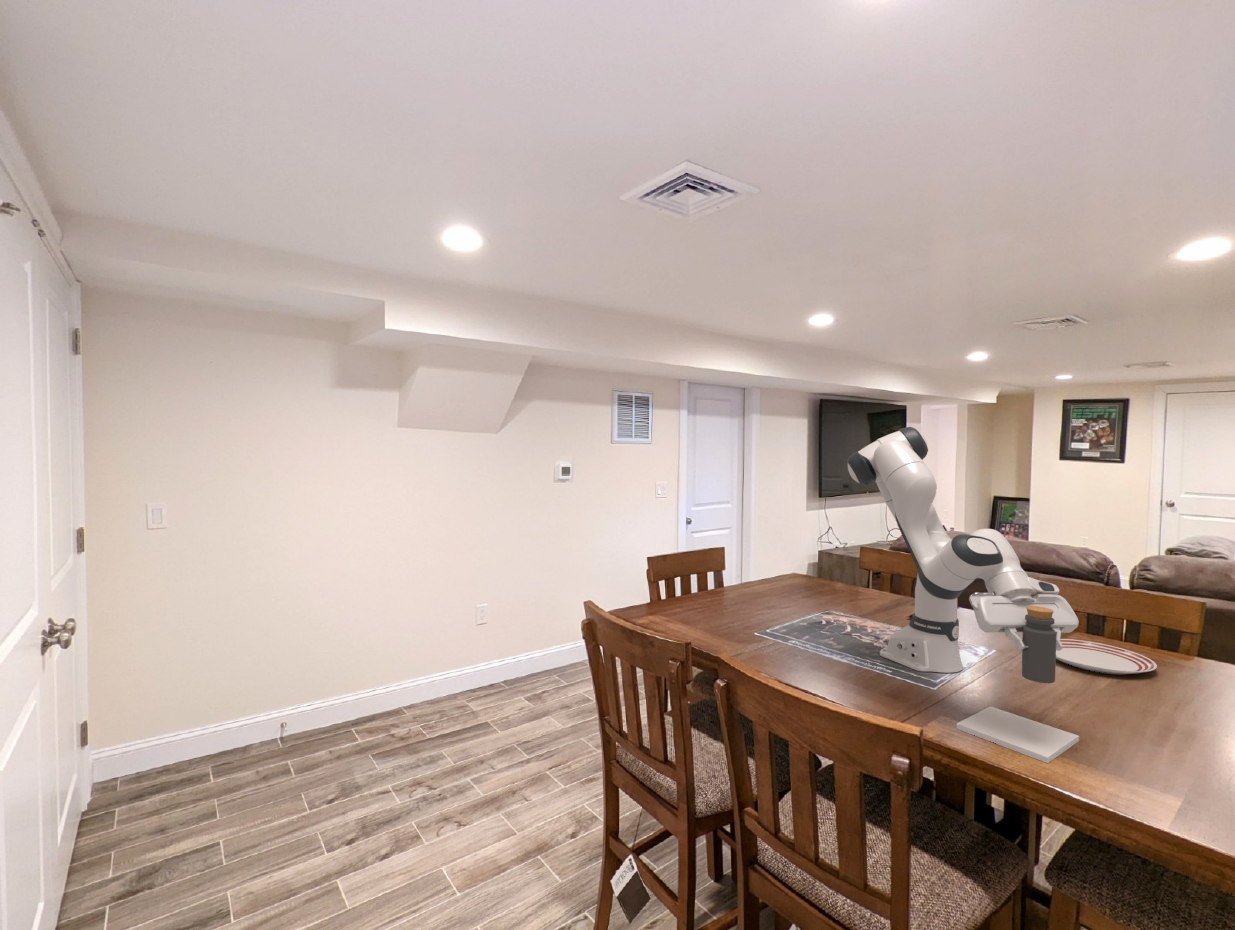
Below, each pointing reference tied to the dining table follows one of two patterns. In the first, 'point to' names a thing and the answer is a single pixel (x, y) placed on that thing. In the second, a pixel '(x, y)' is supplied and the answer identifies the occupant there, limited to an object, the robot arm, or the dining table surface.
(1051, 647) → the bottle
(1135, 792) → the dining table surface
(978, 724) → the grey board
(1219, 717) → the dining table surface
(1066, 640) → the dinner plate
